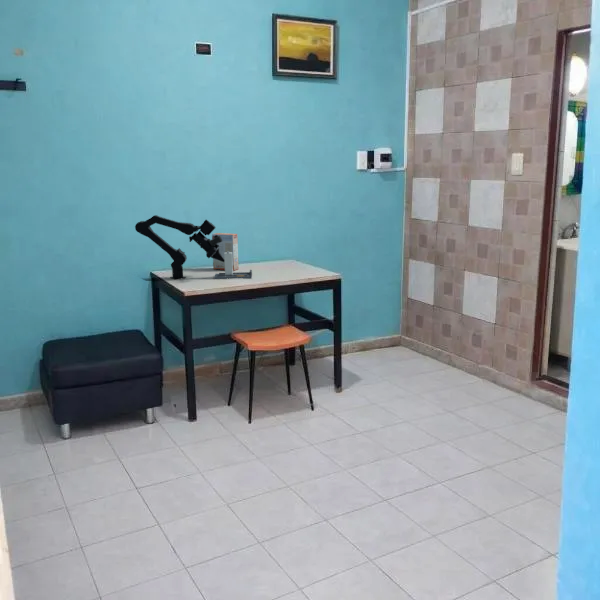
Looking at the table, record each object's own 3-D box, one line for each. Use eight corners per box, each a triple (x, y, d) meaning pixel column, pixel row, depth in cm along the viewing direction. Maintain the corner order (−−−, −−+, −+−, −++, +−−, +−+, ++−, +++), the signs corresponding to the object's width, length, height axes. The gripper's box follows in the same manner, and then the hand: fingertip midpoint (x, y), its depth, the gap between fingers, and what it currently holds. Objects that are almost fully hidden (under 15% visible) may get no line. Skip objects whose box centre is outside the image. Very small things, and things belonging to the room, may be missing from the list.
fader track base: (214, 279, 348) (213, 273, 347) (215, 275, 357) (215, 270, 357) (251, 278, 349) (251, 272, 348) (252, 275, 358) (251, 269, 358)
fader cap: (225, 275, 350) (224, 252, 348) (225, 274, 355) (224, 251, 352) (232, 275, 350) (231, 252, 348) (232, 273, 355) (232, 251, 352)
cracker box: (239, 269, 378) (238, 233, 373) (233, 271, 372) (232, 234, 368) (218, 267, 383) (217, 232, 379) (213, 269, 378) (211, 233, 374)
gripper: (211, 232, 338) (233, 253, 341) (214, 228, 356) (235, 248, 359) (197, 248, 339) (219, 268, 342) (200, 243, 358) (221, 262, 360)
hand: (224, 261), depth 351 cm, fingers closed, pressing on fader cap
